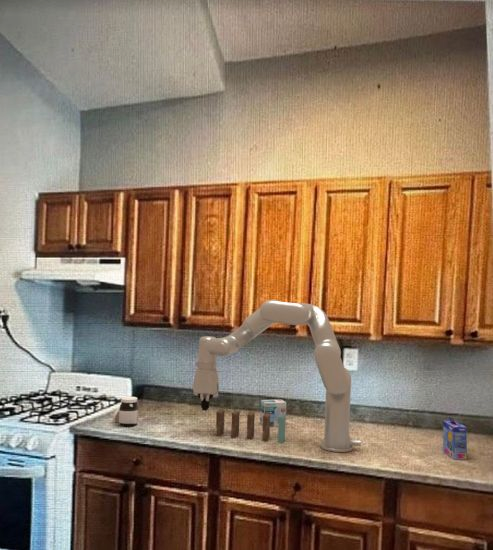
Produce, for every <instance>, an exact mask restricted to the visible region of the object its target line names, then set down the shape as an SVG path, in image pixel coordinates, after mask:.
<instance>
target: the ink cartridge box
mask: <svg viewBox="0 0 493 550" xmlns="http://www.w3.org/2000/svg"><path fill="white" fill-rule="evenodd" d="M448 417H449V420H446V419H445V420H443V421H442V427H443V428H442V451H443V453H445V455H447V456H448V457H450V459H452V460H466V461H467V460H468V446H467V445H468V443H467V440H468V433H467V430H468V429H467V426H466V425H464V424H461V423H460V422H459V421H457V420H455V419H454V418H453V417H451V416H448Z"/></svg>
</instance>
